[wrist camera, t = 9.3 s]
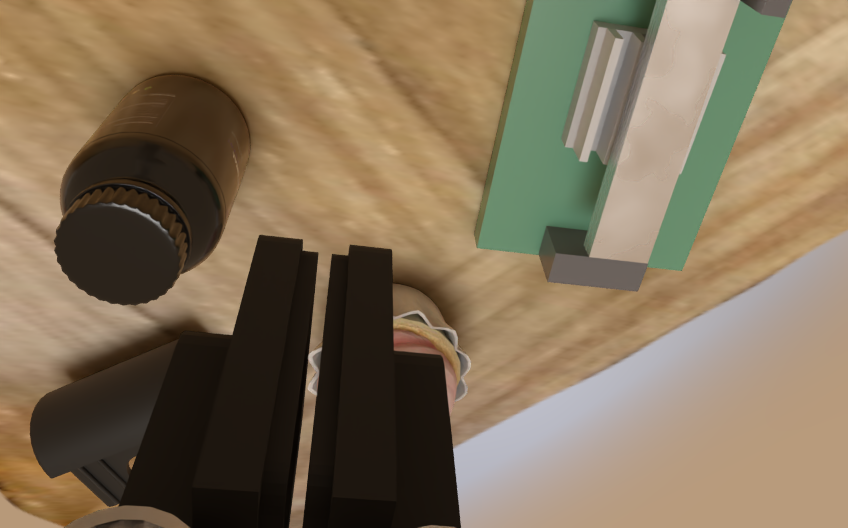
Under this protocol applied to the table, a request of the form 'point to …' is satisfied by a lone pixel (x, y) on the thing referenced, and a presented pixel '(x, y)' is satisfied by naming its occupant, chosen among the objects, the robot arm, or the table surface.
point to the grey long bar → (657, 125)
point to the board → (603, 133)
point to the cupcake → (419, 339)
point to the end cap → (100, 423)
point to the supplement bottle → (151, 190)
